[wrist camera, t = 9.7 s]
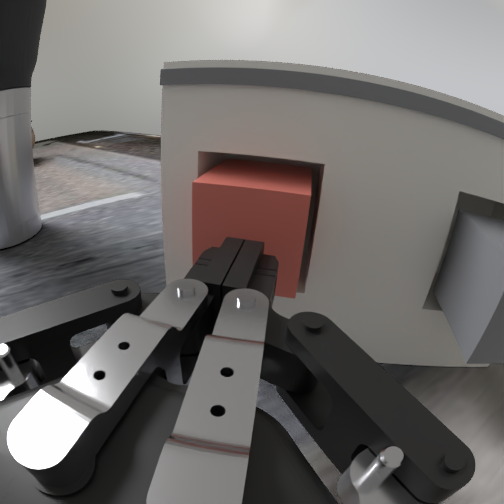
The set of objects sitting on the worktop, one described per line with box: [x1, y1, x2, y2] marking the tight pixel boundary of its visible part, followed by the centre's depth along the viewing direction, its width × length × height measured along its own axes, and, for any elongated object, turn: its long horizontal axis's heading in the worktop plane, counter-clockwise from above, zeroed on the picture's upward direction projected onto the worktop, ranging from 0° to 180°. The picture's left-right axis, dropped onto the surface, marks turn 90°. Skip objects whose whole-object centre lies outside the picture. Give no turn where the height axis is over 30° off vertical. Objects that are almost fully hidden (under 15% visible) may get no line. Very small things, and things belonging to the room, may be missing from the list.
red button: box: [192, 158, 312, 299], centre depth 17 cm, size 5×6×5 cm
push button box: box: [160, 60, 504, 367], centre depth 18 cm, size 23×8×16 cm, turn 80°
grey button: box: [433, 209, 504, 364], centre depth 12 cm, size 5×6×5 cm
